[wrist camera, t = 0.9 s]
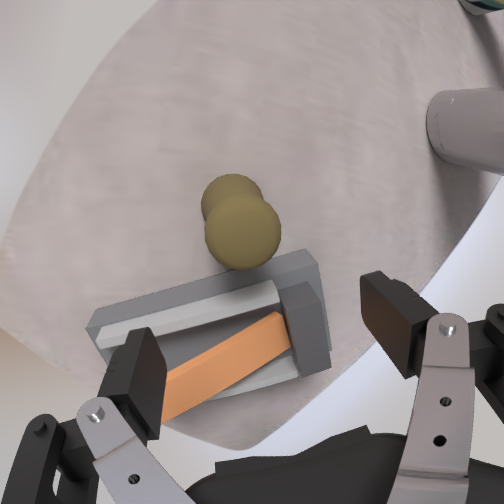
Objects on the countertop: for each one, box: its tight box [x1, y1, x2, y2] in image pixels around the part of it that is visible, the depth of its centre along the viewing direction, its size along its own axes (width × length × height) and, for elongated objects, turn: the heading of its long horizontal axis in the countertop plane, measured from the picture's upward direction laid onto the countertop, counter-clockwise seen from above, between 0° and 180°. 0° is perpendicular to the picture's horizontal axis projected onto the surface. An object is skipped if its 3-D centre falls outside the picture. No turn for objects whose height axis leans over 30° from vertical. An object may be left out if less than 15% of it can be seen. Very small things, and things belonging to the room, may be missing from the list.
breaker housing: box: [86, 249, 332, 403], centre depth 30 cm, size 24×11×8 cm, turn 105°
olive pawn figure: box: [201, 174, 281, 271], centre depth 25 cm, size 6×6×11 cm
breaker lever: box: [161, 311, 290, 424], centre depth 26 cm, size 17×4×1 cm, turn 105°
